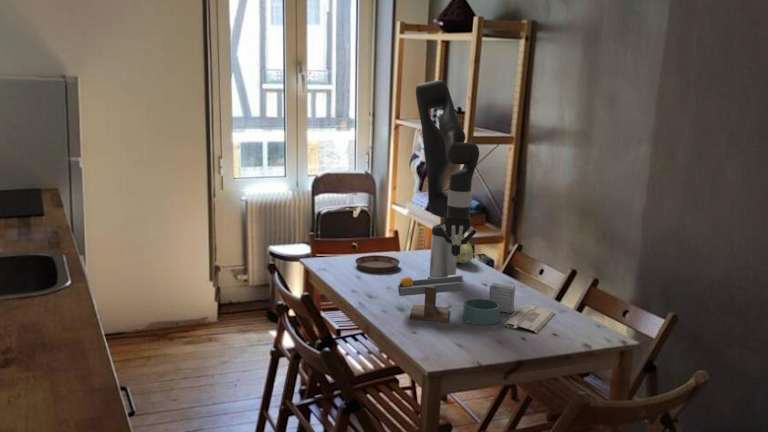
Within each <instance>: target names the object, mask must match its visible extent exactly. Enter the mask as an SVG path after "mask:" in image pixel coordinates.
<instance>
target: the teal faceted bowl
mask: <svg viewBox="0 0 768 432" xmlns="http://www.w3.org/2000/svg"><path fill="white" fill-rule="evenodd" d="M462 306H463V307H462V308H463V309H462V318H463V320H464V322H467V321H468V322H467V323H469V322H470V323H469V324H472V323H473V324H472V325H477V324H482V325H481V326H489V325H488V324H493V325H495V323H496V324H498V323H499V322H500V318H501V312H500V305H499V303H498V302H495V301H492V300H490V299H489V298H479V297H478V298H477V297H476V298H468V299H466V300H465V301H463V305H462ZM498 321H499V322H498Z"/></svg>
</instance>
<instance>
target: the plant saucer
mask: <svg viewBox="0 0 768 432" xmlns="http://www.w3.org/2000/svg"><path fill="white" fill-rule="evenodd" d="M354 262H355V264H356V265H357V267H358V268H359V269H360V270H362V271H365V272H369V273H389V272H392V271H394V270H395V269H397V267H398V266H399V264H400V259H398V258H396V257H393V256H389V255H388V256H387V255H378V254H377V255H376V254H375V255H374V254H373V255H363V256H360V257H357V258H356V259H355V261H354Z"/></svg>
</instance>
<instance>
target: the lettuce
mask: <svg viewBox="0 0 768 432" xmlns="http://www.w3.org/2000/svg"><path fill="white" fill-rule="evenodd" d="M464 238H465V237H464V236H462V239H461V240H463V239H464ZM457 241H458V235H456V244H457ZM473 258H474V249H473V247H472V245H471V243H470V241H468V242H467V243H466V244H462V245H461V247H460V254H459V255H458V256H457V262H456V264H467V263H470V262H471V261H472V260H473Z"/></svg>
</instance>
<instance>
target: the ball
mask: <svg viewBox="0 0 768 432" xmlns="http://www.w3.org/2000/svg"><path fill="white" fill-rule="evenodd" d="M413 280H414V279H413V278H411V277H410V276H404V277H403V278H402V280H401V286H402V287H403V288H406V287H412V286H413Z"/></svg>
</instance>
